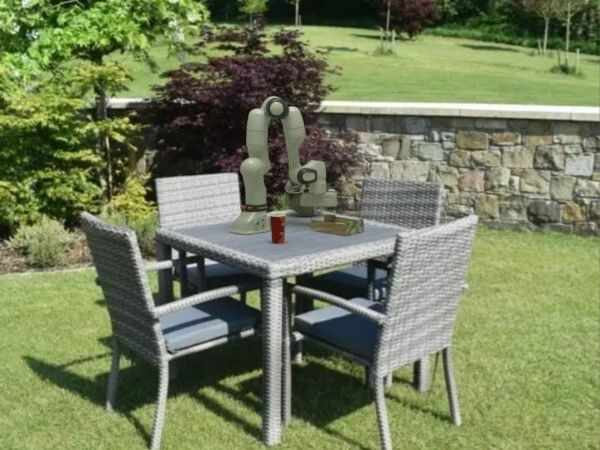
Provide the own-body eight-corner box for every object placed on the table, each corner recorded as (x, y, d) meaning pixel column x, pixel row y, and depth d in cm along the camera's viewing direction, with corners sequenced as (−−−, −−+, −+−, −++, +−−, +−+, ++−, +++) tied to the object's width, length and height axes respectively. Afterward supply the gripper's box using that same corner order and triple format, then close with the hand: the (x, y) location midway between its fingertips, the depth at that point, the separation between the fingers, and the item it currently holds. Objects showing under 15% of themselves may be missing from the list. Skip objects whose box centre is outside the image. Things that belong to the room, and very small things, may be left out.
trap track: (345, 236, 388) (345, 222, 387) (310, 230, 403) (310, 217, 402) (363, 231, 400) (363, 218, 399) (329, 226, 415) (329, 213, 414)
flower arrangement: (277, 217, 442) (277, 175, 437) (293, 210, 465) (293, 171, 460) (317, 220, 433) (318, 177, 429) (331, 213, 456) (332, 172, 452)
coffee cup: (287, 243, 370) (286, 213, 368) (270, 244, 370) (269, 213, 367) (285, 240, 379) (285, 210, 376) (269, 240, 378) (269, 211, 375)
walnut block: (330, 224, 405) (330, 216, 404) (324, 223, 408) (324, 215, 407) (335, 223, 408) (335, 214, 408) (329, 222, 411) (329, 214, 410)
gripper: (338, 188, 410) (338, 214, 413) (302, 188, 416) (302, 213, 419) (335, 190, 404) (336, 216, 407) (298, 190, 410) (299, 215, 413)
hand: (319, 214), depth 413 cm, fingers closed
